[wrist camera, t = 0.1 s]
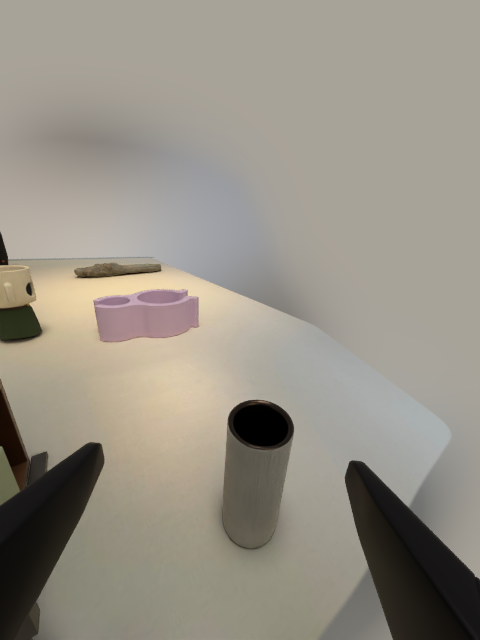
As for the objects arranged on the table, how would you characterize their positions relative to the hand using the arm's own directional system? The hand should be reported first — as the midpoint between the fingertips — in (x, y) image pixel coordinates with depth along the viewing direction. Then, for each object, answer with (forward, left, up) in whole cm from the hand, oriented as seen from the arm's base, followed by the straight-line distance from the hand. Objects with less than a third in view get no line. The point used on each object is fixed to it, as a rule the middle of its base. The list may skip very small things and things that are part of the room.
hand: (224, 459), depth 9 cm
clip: (+43, +20, -15) cm, 49 cm away
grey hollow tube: (+7, -2, -15) cm, 16 cm away
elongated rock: (+96, +52, -15) cm, 110 cm away
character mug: (+35, +42, -15) cm, 56 cm away
